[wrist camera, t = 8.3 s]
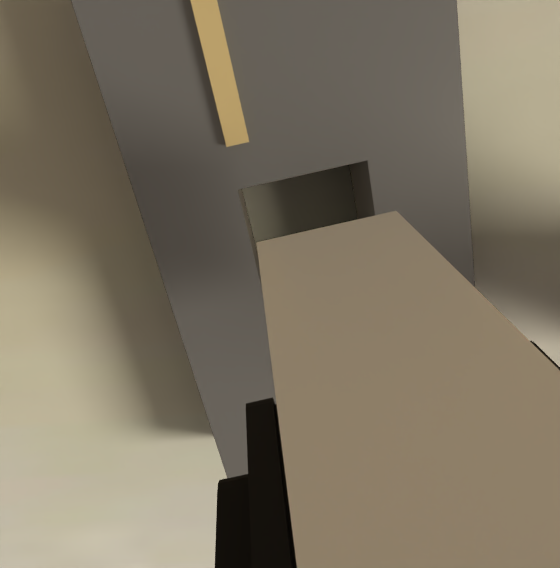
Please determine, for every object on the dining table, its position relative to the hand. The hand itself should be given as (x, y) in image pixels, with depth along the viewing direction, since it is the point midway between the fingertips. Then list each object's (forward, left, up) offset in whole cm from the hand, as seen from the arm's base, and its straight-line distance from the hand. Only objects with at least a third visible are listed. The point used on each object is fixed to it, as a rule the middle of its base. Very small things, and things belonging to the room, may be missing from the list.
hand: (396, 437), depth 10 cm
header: (0, 0, -15) cm, 15 cm away
